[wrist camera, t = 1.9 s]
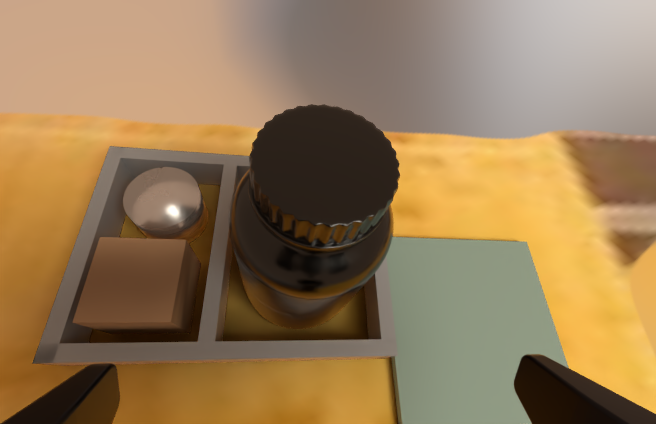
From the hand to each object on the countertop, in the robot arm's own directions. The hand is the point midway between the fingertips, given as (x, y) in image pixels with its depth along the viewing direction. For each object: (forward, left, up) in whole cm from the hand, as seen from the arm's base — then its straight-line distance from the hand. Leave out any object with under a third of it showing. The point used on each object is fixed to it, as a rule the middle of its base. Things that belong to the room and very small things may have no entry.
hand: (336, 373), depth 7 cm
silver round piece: (+9, +8, -12) cm, 17 cm away
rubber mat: (+3, -11, -12) cm, 17 cm away
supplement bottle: (+6, 0, -12) cm, 14 cm away
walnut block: (+4, +8, -12) cm, 15 cm away
